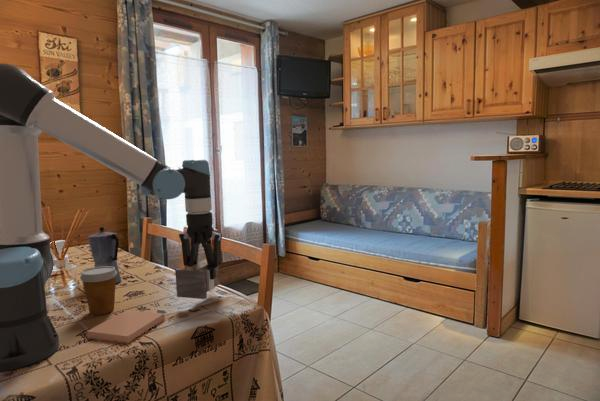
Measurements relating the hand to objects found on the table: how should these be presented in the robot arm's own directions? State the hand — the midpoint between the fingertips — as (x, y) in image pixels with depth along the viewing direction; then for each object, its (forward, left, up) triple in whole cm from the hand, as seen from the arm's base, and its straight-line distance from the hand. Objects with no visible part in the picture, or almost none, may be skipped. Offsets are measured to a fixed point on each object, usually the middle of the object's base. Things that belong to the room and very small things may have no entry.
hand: (203, 288), depth 121 cm
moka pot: (+8, +43, -4) cm, 44 cm away
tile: (-15, +9, -3) cm, 18 cm away
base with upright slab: (+15, +75, -4) cm, 77 cm away
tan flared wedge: (-1, 0, 0) cm, 1 cm away
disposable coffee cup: (-14, +25, -4) cm, 29 cm away
